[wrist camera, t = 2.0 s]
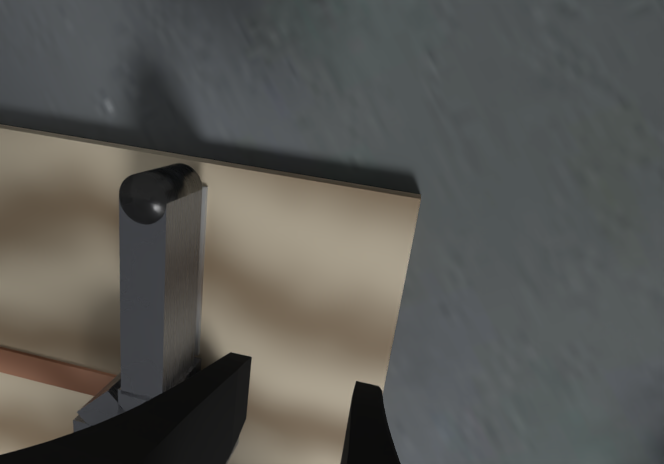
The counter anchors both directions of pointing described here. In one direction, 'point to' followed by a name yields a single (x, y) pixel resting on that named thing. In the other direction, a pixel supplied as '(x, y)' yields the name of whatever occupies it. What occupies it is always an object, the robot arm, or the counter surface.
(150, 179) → the grey lever handle
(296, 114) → the counter surface
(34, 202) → the base
